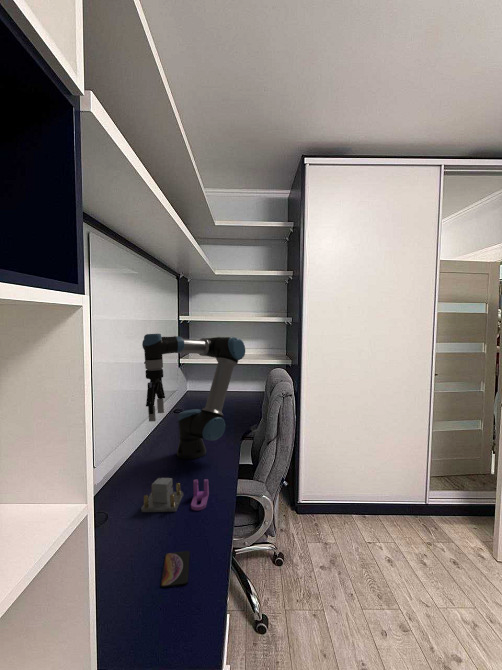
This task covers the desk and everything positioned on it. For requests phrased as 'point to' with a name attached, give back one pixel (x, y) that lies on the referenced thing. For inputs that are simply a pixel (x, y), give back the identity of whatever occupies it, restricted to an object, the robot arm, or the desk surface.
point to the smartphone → (175, 569)
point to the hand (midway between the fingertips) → (156, 417)
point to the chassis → (163, 507)
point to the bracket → (200, 495)
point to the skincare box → (162, 490)
